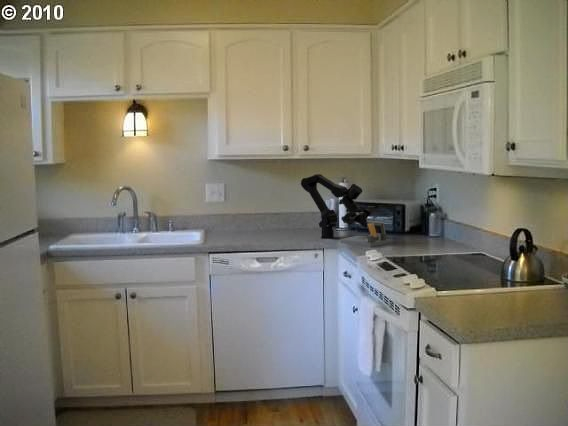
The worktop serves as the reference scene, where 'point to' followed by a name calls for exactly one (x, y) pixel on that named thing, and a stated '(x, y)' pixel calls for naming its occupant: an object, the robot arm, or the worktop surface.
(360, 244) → the breaker panel
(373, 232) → the breaker
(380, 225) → the electrical switch
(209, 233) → the worktop surface
